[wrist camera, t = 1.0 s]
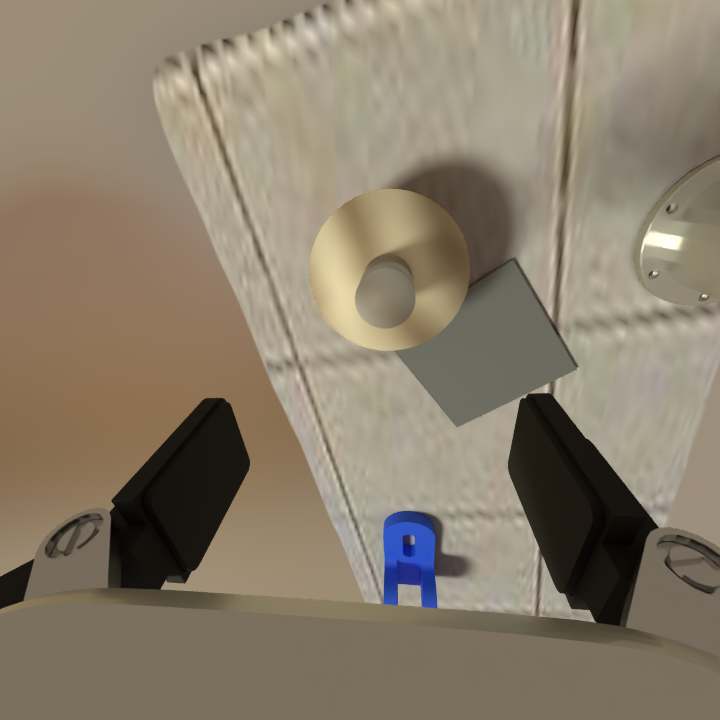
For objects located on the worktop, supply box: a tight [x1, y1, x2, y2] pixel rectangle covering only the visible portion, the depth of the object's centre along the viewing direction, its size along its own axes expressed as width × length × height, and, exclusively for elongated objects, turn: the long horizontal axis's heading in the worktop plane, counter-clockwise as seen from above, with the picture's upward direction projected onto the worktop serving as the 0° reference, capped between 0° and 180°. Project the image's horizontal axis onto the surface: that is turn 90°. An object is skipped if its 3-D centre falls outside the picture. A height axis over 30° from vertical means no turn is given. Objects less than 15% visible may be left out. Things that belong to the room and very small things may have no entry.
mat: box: [394, 259, 576, 427], centre depth 35 cm, size 15×15×1 cm
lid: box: [309, 189, 471, 351], centre depth 23 cm, size 13×13×7 cm
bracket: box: [383, 511, 437, 608], centre depth 50 cm, size 18×8×9 cm, turn 4°
